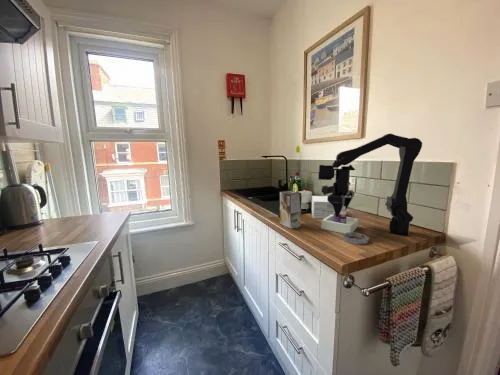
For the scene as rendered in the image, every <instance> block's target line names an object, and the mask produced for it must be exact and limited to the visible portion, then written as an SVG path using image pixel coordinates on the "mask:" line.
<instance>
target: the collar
mask: <svg viewBox="0 0 500 375" xmlns="http://www.w3.org/2000/svg"><path fill="white" fill-rule="evenodd" d="M342 236H343V237H342V238H343V240H344V241H346V242H347V243H349V244H354V245H367V244H368V243H369V241H370V237H369V236H367V235H366V234H364V233H359V232H355V231H353V232H349V233H345V234H344V233H343V235H342ZM352 237H354V238H352ZM356 238H357V239H356ZM358 238H360V239H358Z"/></svg>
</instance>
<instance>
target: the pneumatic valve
mask: <svg viewBox="0 0 500 375" xmlns="http://www.w3.org/2000/svg"><path fill="white" fill-rule="evenodd" d="M296 192H297V193H301V210H302V209H306V210H309V204H308V203H312V196H315V194H314V193H313V191H311V190H305V189H303V190H301V191H296Z"/></svg>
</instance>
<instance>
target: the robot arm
mask: <svg viewBox="0 0 500 375" xmlns="http://www.w3.org/2000/svg"><path fill="white" fill-rule="evenodd" d="M386 145H389V146H392V147H394V148H397V149H398V154H399V160H400V161H399V165H398V169H397V170H398V171H397V175H396V179H395V184H394V188H393V193H392V194H391V196H388V195H387V197H386V203H384V205H385V206H386V210H387V211H388V212H389V213H390V215H391V216H392V217H391V219H390V220H389V229H388V230H389V233H390V234H395V235H400V236H401V235H402V236H406V237H409V235H410V224H411V222H412V221H413V220H414V216H413V215H412V214H411V213H410V212H408V201H407V200H408V199H407V193H408V188H409V184H410V178H411V176H412V175H411V174H412V170H413V166H414V162H415V160H416V159H417V157H418V156H419V155H420V152H421V150H422V148H423V142H422V141H421V139H419V138H417V137H410V138H409V137H405V136H401V135H396V134H393V133H386V134H383V135H382V136H381V137H378V138H376V139H373V140H372V141H369V142H367V143H365V144H362V145H360V146H357V147H355V148H352V149H348V150H344V151H339V153H337V154H336V156H335V160H334V161H333V162H332V164H331V165H330V164H329V165H328V164H326V165H325V164H319V165H318V166H319V167H318V181H331V180H332V179H334V178H335V180H334V182H333V183H332V185H330V186H328V185H323V186H322V188H321V193H322V194H323V196H327V195H328V198H327V201H329V203H331V204H332V205H333V208H334V211H335V215H336V217H338V216H339V214H340V212H341V210H342V208H343V206H345V207H346V209H345V211H346V212H347V210H348V207H349V205H350V203H351V202H352V201H353V199H354V197H355V192H354V191H353V190H352V189H351V190H350V185H351V182H350V175H351V174H350V173H351V171H355V170H356V168H354V166H353V165H352V164H350V163H352V162H353V161H354V162H355V160H356V159H358V158H360V157H361V156H363V155H366V154H368V153H371V152H373V151H375V150H377V149H380V148H382V147H384V146H386ZM347 165H348V166H347Z"/></svg>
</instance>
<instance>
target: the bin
mask: <svg viewBox="0 0 500 375" xmlns="http://www.w3.org/2000/svg"><path fill="white" fill-rule="evenodd" d="M358 226H359V218H355V217H349V216H347V220H346V224H343V223H338V222H334V215H332V214H331V215H329V216H328V217H326V218H325V219H321V230H324V231H325V230H326V231H331V232H335V233H339V234H340V233H341V234H343V235H344V234H345V233H349V232H355V231H356V229H357V228H358Z"/></svg>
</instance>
